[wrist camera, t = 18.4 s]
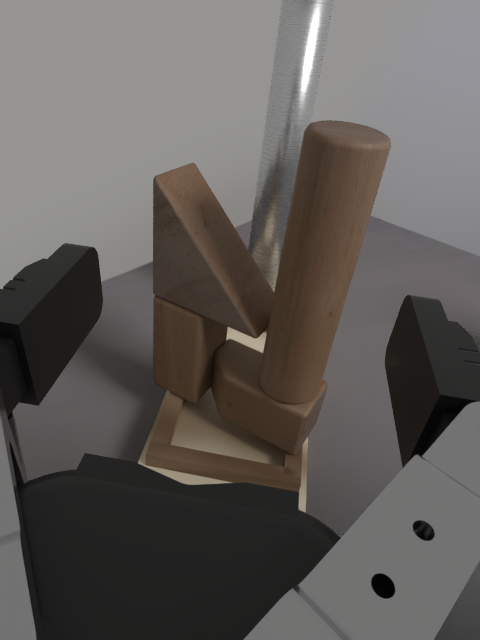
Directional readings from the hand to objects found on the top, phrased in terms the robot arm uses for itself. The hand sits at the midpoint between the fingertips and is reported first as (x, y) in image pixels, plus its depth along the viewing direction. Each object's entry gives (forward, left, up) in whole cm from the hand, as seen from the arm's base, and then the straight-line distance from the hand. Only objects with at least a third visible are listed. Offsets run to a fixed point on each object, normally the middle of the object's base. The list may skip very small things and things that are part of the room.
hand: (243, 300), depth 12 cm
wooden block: (+11, 0, -16) cm, 19 cm away
